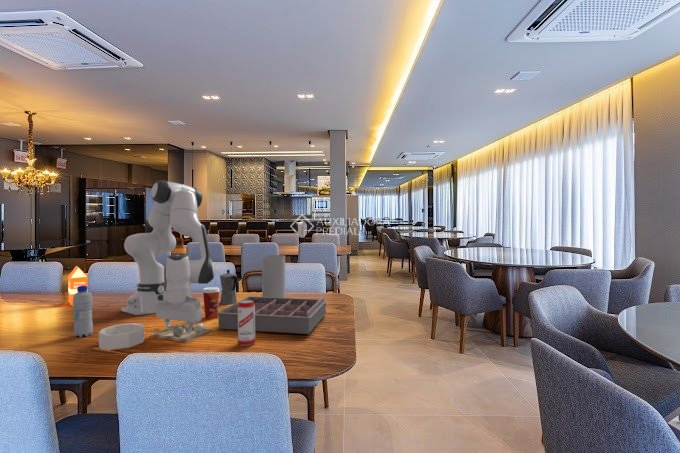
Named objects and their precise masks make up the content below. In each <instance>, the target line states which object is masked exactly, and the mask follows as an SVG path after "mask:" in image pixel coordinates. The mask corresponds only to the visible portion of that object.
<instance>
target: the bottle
mask: <svg viewBox="0 0 680 453" xmlns="http://www.w3.org/2000/svg"><path fill="white" fill-rule="evenodd" d="M88 288H89V287H88ZM88 288H87V286H84V285H82V286H79V287H78V288H77V292H78V293H76V294H74V296H73V305H72V308H73V334H74V337H76V336H79V337H78V338H82V337H83V335H84V336H86V337H88V336H91V335H92V334H93V331H94V326H93V325H94V324H93V305H94V303H93V301H94V299H93V294H92V292H90V291H89V289H88ZM87 290H88V291H87ZM90 334H91V335H90Z"/></svg>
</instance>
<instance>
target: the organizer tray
mask: <svg viewBox="0 0 680 453" xmlns="http://www.w3.org/2000/svg"><path fill="white" fill-rule="evenodd" d="M242 300H253V303H254V304H255V332H267V333H269V332H270V333H283V334H285V333H286V334H287V333H288V334H303V335H309V334H310V333H311V332H312V331H313V330H314V328H315V327H316V326H317V325H318V324H319V323H320V321H322V319H323V318H324V317H325V315H326V314H327V309H326V308H327V307H326V305H327V302H328V299H325V296H324V295H323V296H322V297H321V298H320V299H318V298H317V299H316V298H315V299H314V298H295V297H285V298H274V297H262V296H247V297H245V298H243V299H242ZM238 305H239V301H237V302H236V303H234V304H230V306H227V307H225V308H224V309H221V310H220V311H219V310H218V312H217V313H216V314H218V318H217V319H218V320H217V321H218V324H217V325H218V329H221V330H235V331H238Z"/></svg>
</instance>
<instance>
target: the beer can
mask: <svg viewBox="0 0 680 453" xmlns="http://www.w3.org/2000/svg"><path fill="white" fill-rule="evenodd" d="M238 302H239V305H238V330H237V344H239V346H241V347H249V346H253V345H254V344H255V342H256V331H255V304H254V303H253V300H243V299H241V300H239V301H238Z"/></svg>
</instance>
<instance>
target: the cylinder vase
mask: <svg viewBox="0 0 680 453" xmlns="http://www.w3.org/2000/svg"><path fill="white" fill-rule="evenodd" d="M261 261H262V262H261V270H262V272H261V276H262V279H261V280H262V282H261V283H262V284H261V285H262V286H261V288H262V290H261V292H262V294H261V297H274V298H286V255H283V254H268V255H263V256H261Z"/></svg>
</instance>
